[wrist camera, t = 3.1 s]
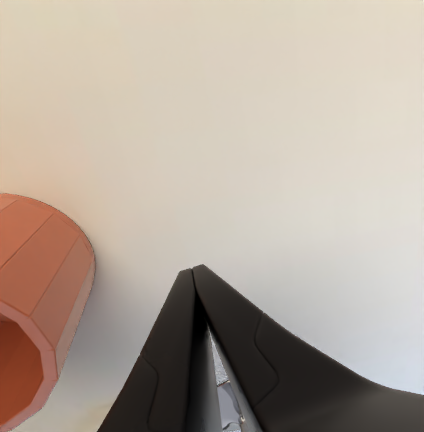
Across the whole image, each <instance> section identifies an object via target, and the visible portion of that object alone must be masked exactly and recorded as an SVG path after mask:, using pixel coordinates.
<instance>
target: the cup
mask: <svg viewBox="0 0 424 432" xmlns="http://www.w3.org/2000/svg"><path fill="white" fill-rule="evenodd" d="M95 266H96V265H95V256H94V253H93V249H92V247H91V245H90V242H89V240H88V239H87V237H86V236H85V234H84V233H83V231H82V230H81V229H80V228H79V227H78V226H77V225H76V224H75V223H74V222H73V221H72V220H71V219H70V218H69V217H67V216H66V215H65V214H63V213H62V212H60V211H58V210H57V209H55V208H53V207H52V206H49V205H47V204H45V203H43V202H40V201H37V200H34V199H32V198H28V197H24V196H19V195H12V194H0V432H7V431H10V430H12V429H14V428H15V427H17V426H18V425H20V424H21V423H22V422H24V421H25V420H26V419H28V418H29V417H31V416H32V415H33V414H35V413H36V412H37V411H39V410H40V409H42V407H43V406H44V405H45V403H46V401H47V399H48V398H49V396H50V394H51V392H52V390H53V388H54V387H55V385H56V383H57V381H58V379H59V376H60V373H61V370H62V368H63V365H64V362H65V359H66V357H67V354H68V351H69V348H70V346H71V343H72V340H73V337H74V335H75V332H76V329H77V326H78V324H79V321H80V318H81V315H82V313H83V310H84V307H85V304H86V302H87V299H88V296H89V293H90V291H91V288H92V285H93V279H94V275H95Z"/></svg>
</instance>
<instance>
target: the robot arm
mask: <svg viewBox="0 0 424 432" xmlns="http://www.w3.org/2000/svg"><path fill="white" fill-rule="evenodd" d="M209 330H210V332H209ZM210 333H211V336H212V338H213V341H214V344H215V346H216V349H217V351H218V354H219V356H220V359H221V361H222V364H223V366H224V368H225V371H226V373H227V376H228V378H229V381H230V383H231V386H232V388H233V391H234V393H235V396H236V398H237V401H238V403H239V406H240V408H241V411H242V413H243V416H244V418H245V421H246V423H247V426H248V428H249V431H250V432H424V395H421V394H416V393H411V392H406V391H401V390H396V389H392V388H388V387H385V386H382V385H380V384H377V383H375V382H372V381H370V380H368V379H366V378H364V377H362V376H360V375H358V374H357V373H355V372H353V371H352V370H350V369H348V368H347V367H345V366H344V365H342V364H340V363H339V362H337V361H335V360H334V359H332V358H330V357H329V356H327V355H326V354H324V353H322V352H321V351H319V350H317V349H316V348H314V347H313V346H311V345H309V344H308V343H306V342H304V341H303V340H301V339H300V338H298V337H297V336H295V335H294V334H292V333H291V332H289V331H288V330H286V329H285V328H284V327H282V326H281V325H280V324H278V323H277V322H275V321H274V320H273V319H272V318H270V317H269V316H268V315H267V314H265V313H263V311H261V310H260V309H259V308H258V307H256V306H255V305H254V304H253V303H251V302H250V301H249V300H248V299H246V298H245V297H244V296H243V295H241V294H240V293H239V292H238V291H236V290H235V289H234V288H233V287H231V286H230V285H229V284H228V283H226V282H225V281H224V280H223V279H221V278H220V277H219V276H218V275H216V274H215V273H214V272H213V271H211V270H210V269H209V268H208V267H206V266H205V265H204V264H202V265H199V266H195V267H193V268H192V269H191V268H189V269H186V270H183V271H180V272H179V274H178V276H177V278H176V280H175V282H174V284H173V286H172V288H171V290H170V293H169V295H168V297H167V299H166V301H165V303H164V305H163V307H162V309H161V311H160V313H159V315H158V317H157V319H156V322H155V324H154V326H153V328H152V330H151V332H150V334H149V336H148V338H147V340H146V342H145V344H144V346H143V348H142V351H141V353H140V356H139V357H138V359H137V361H136V363H135V365H134V367H133V369H132V371H131V373H130V375H129V377H128V379H127V380H126V382H125V384H124V386H123V388H122V390H121V392H120V393H119V395H118V397H117V399H116V400H115V402H114V404H113V406H112V407H111V409H110V411H109V413H108V414H107V416H106V418H105V419H104V421H103V423H102V424H101V426H100V428H99V429H98V431H97V432H223V429H222V422H221V414H220V406H219V398H218V391H217V383H216V375H215V367H214V360H213V352H212V344H211V337H210Z"/></svg>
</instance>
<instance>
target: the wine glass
mask: <svg viewBox="0 0 424 432" xmlns="http://www.w3.org/2000/svg"><path fill="white" fill-rule="evenodd" d="M217 391H218V398H219V406H220V414H221V422H222V429H223V432H228V431H235V430H241V432H250V431H249V428H248V426H247V423H246V421H245V418H244V416H243V413H242V411H241V408H240V406H239V403H238V401H237V398H236V396H235V393H234V391H233V388H232V386H231V383H230V381H227V382H225V383H223V384H221V385H219V386H217Z"/></svg>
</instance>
